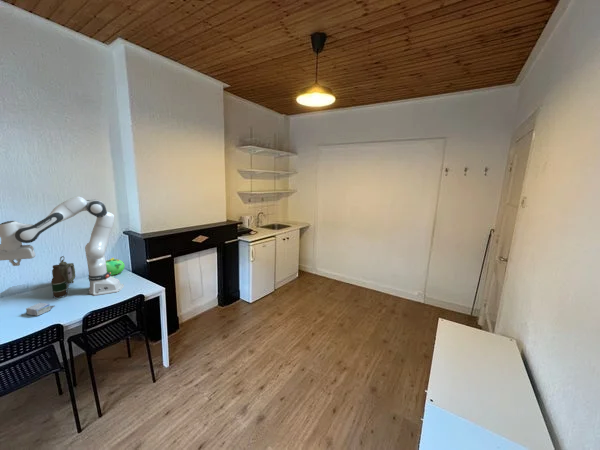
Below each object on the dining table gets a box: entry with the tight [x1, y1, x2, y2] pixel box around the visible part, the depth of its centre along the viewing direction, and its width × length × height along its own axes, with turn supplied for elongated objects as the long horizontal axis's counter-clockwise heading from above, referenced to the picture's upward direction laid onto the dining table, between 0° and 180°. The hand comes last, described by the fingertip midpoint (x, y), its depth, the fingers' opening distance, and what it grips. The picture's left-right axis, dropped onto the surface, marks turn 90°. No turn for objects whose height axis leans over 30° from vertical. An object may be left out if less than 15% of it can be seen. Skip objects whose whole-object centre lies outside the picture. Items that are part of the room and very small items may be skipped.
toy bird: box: [105, 257, 126, 276], centre depth 230 cm, size 18×17×15 cm
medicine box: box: [25, 302, 52, 317], centre depth 168 cm, size 8×4×9 cm
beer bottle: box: [50, 264, 68, 299], centre depth 188 cm, size 8×8×24 cm
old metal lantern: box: [51, 255, 76, 289], centre depth 203 cm, size 14×9×25 cm, turn 23°
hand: (16, 265), depth 169 cm, fingers closed
